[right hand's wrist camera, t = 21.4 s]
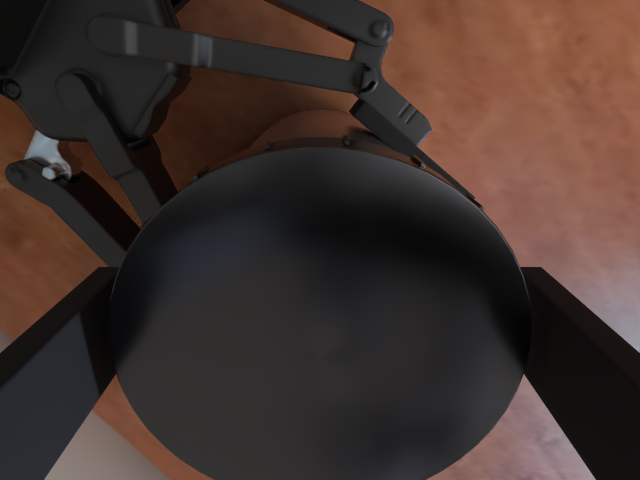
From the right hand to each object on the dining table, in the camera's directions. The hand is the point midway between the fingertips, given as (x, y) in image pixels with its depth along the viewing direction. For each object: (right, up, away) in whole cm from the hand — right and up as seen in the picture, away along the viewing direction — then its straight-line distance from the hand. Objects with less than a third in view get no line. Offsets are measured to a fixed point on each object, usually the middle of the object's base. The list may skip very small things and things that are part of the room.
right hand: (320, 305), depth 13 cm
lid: (0, -1, -2) cm, 2 cm away
